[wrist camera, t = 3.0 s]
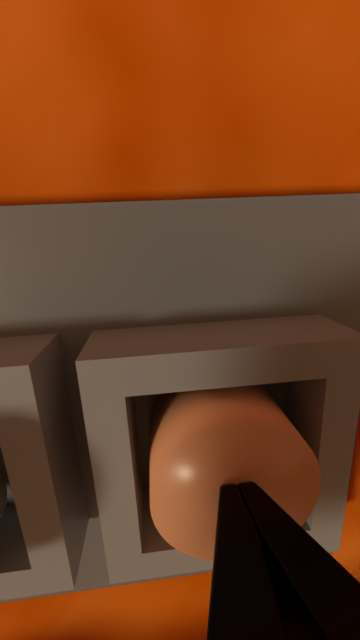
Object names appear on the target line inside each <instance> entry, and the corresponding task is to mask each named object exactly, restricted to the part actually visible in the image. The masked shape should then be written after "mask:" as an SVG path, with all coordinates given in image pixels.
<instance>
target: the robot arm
mask: <svg viewBox="0 0 360 640" xmlns="http://www.w3.org/2000/svg"><path fill="white" fill-rule="evenodd" d="M207 640H360V583H359V582H358V581H357V580H356V579H355V578H354V577H353V576H352V575H351V574H350V573H349V572H348V571H347V570H346V569H345V568H344V567H343V566H342V565H341V564H340V563H339V562H338V561H336V560H335V559H334V558H333V557H332V556H331V555H330V554H329V553H328V552H327V551H326V550H325V549H324V548H323V547H322V546H321V545H320V544H319V543H318V542H317V541H316V540H315V539H314V538H313V537H311V536H310V535H309V534H308V533H307V532H306V531H305V530H304V529H303V528H302V527H301V526H300V525H299V524H298V523H297V522H296V521H295V520H294V519H293V518H292V517H291V516H290V515H289V514H288V513H286V512H285V511H284V510H283V509H282V508H281V507H280V506H279V505H278V504H277V503H276V502H275V501H274V500H273V499H272V498H271V497H270V496H269V495H268V494H267V493H266V492H265V491H264V490H263V489H261V488H260V487H259V486H258V485H257V484H256V483H255V482H253V481H249V482H241V483H238V484H237V485H236V484H234V483H233V484H225V485H221V486H220V489H219V500H218V512H217V524H216V535H215V547H214V559H213V570H212V582H211V594H210V605H209V617H208V629H207Z"/></svg>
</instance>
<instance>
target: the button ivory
mask: <svg viewBox="0 0 360 640" xmlns="http://www.w3.org/2000/svg"><path fill="white" fill-rule="evenodd" d="M6 503H7V488H6V482H5V479H4V476H3V474H2V472H1V470H0V520H1V518H2V516H3V513H4V511H5V508H6Z"/></svg>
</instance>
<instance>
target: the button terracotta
mask: <svg viewBox="0 0 360 640" xmlns="http://www.w3.org/2000/svg"><path fill="white" fill-rule="evenodd" d="M149 460H150V511H151V517H152V519H153V522H154V525H155V527H156V529H157V530H158V532H159V533H160V535H161V536H162V537H163V538H164V540H165V541H167V542H168V543H169V544H170V545H171V546H172V547H174V548H175V549H177V550H178V551H180V552H182V553H184V554H186V555H189V556H191V557H194V558H198V559H202V560H208V561H213V559H214V547H215V535H216V524H217V512H218V500H219V489H220V486H221V485H225V484H233V483H234V484H236V485H237V484H238V483H241V482H249V481H253V482H255V483H256V484H257V485H258V486H259V487H260V488H261V489H263V490H264V491H265V492H266V493H267V494H268V495H269V496H270V497H271V498H272V499H273V500H274V501H275V502H276V503H277V504H278V505H279V506H280V507H281V508H282V509H283V510H284V511H285V512H286V513H288V514H289V515H290V516H291V517H292V518H293V519H294V520H295V521H296V522H297V523H298V524H299V525H300V526H302V525H303V524H304V523H305V521H306V520H307V519H308V517H309V516H310V514H311V513H312V511H313V509H314V507H315V505H316V502H317V499H318V496H319V492H320V487H321V474H320V468H319V464H318V461H317V459H316V457H315V455H314V453H313V451H312V450H311V448H310V447H309V445H308V444H307V443H306V441H305V440H304V439H303V438H302V436H301V435H300V434H299V432H298V431H297V430H296V428H295V427H294V426H293V424H292V423H291V422H290V420H289V419H288V418H287V417H286V415H285V414H284V413H283V411H282V410H281V409H280V407H279V406H278V405H277V403H276V402H275V401H274V399H273V398H272V397H271V396H270V394H269V393H268V392H267V390H266V389H265V388H264V386H263V385H262V384H259V385H249V386H238V387H227V388H216V389H205V390H195V391H184V392H173V393H162V394H161V395H160V397H159V398H158V400H157V401H156V403H155V405H154V407H153V410H152V413H151V416H150V423H149Z"/></svg>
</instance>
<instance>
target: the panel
mask: <svg viewBox="0 0 360 640" xmlns="http://www.w3.org/2000/svg"><path fill="white" fill-rule="evenodd" d="M259 384H262V385H263V386H264V388H265V389H266V390H267V392H268V393H269V394H270V396H271V397H272V398H273V399H274V401H275V402H276V403H277V405H278V406H279V407H280V409H281V410H282V411H283V413H284V414H285V415H286V417H287V418H288V419H289V420H290V422H291V423H292V424H293V426H294V427H295V428H296V430H297V431H298V432H299V434H300V435H301V436H302V438H303V439H304V440H305V441H306V443H307V444H308V445H309V447H310V448H311V450H312V451H313V453H314V455H315V457H316V459H317V461H318V464H319V468H320V474H321V487H320V492H319V496H318V499H317V502H316V505H315V507H314V509H313V511H312V513H311V514H310V516H309V517H308V519H307V520H306V521H305V523H304V524H303V525H302V526H301V527H302V528H303V529H304V530H305V531H306V532H307V533H308V534H309V535H310V536H311V537H313V538H314V539H315V540H316V541H317V542H318V543H319V544H320V545H321V546H322V547H323V548H324V549H325V550H326V551H327V552H328V553H329V554H332V552H334V551H339V550H340V543H341V536H342V529H343V522H344V515H345V508H346V501H347V494H348V487H349V480H350V473H351V466H352V459H353V453H354V446H355V439H356V432H357V425H358V418H359V411H360V193H349V194H321V195H293V196H265V197H237V198H209V199H181V200H153V201H125V202H97V203H69V204H41V205H13V206H0V470H1V472H2V474H3V476H4V479H5V482H6V488H7V503H6V508H5V511H4V513H3V516H2V518H1V520H0V603H3V602H10V601H16V600H23V599H30V598H37V597H44V596H50V595H57V594H64V593H71V592H77V591H84V590H91V589H98V588H105V587H111V586H118V585H125V584H132V583H139V582H145V581H152V580H159V579H166V578H173V577H179V576H186V575H193V574H200V573H207V572H212V570H213V561H208V560H202V559H198V558H194V557H191V556H189V555H186V554H184V553H182V552H180V551H178V550H177V549H175V548H174V547H172V546H171V545H170V544H169V543H168V542H167V541H165V540H164V538H163V537H162V536H161V535H160V533H159V532H158V530H157V529H156V527H155V525H154V522H153V519H152V517H151V511H150V460H149V423H150V416H151V413H152V410H153V407H154V405H155V403H156V401H157V400H158V398H159V397H160V395H161V394H162V393H173V392H184V391H195V390H205V389H216V388H227V387H238V386H249V385H259Z"/></svg>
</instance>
